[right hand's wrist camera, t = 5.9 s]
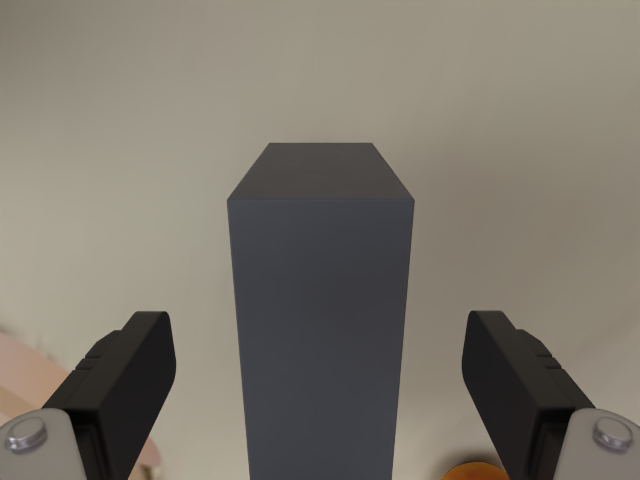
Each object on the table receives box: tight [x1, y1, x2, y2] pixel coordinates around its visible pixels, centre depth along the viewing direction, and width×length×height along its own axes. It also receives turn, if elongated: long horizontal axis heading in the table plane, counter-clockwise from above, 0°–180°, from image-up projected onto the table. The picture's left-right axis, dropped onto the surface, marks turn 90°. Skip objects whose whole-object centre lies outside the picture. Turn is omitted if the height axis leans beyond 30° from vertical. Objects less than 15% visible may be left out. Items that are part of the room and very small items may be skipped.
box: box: [227, 143, 415, 480], centre depth 24 cm, size 25×6×12 cm, turn 0°
